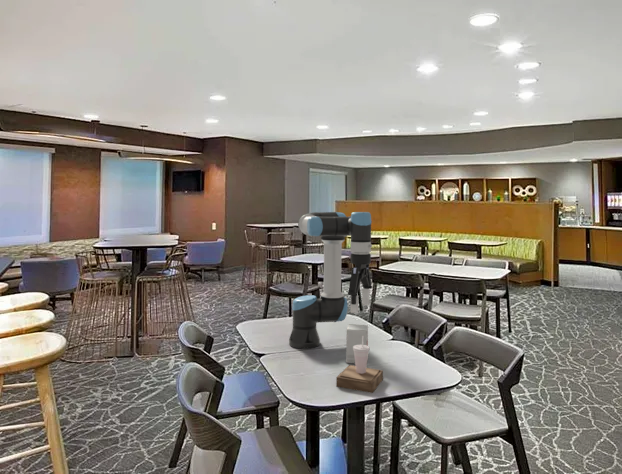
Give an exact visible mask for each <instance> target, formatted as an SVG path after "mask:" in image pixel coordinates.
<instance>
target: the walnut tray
mask: <svg viewBox="0 0 622 474" xmlns="http://www.w3.org/2000/svg"><path fill="white" fill-rule="evenodd" d="M383 379H384V370H383V369H377V368H370V367H366V373H363V374H360V373H357V372H356V365H353V364H349V365H348V366H347V367H345V368H344V369H343V370H342V371H341V372H340V373H339V374H338V375H337V376H336V379H335V380H336V382H335V384H336V388H337V387H338V388H343V389H348V390H354V391H359V392H363V393H369V394H374V392H375V391H376V389H377V388H378V387H379V385H380V384H381V383H382V381H383Z"/></svg>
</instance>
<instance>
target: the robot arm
mask: <svg viewBox="0 0 622 474" xmlns="http://www.w3.org/2000/svg"><path fill="white" fill-rule="evenodd" d="M350 214H351V215H350V216H346V214H345V213H344V212H338V211H331V212H330V211H326V212H325V211H313V212H310V213H305V214H303V215H302V216H300V218H299V220H298V221H297V222H298V223H297V227H298V229H299V231H300V232H301V234H304V235H306V236H309V237H310V236H311V237H320V240H321V242H322V243H323V291H322V292H321V293H320V296H319V298H317V296H316V295H310V294H309V295H308V294H307V295H302V296H298V297H296V298H294V299H293V302H292V309H291V310H292V329H291V333H290V336H289V339H288V345H289V346H290V347H292V348H296V349H313V348H316V347H319V346H321V345H320V344H321V338H320V336H319V332H318V330H317V329H318V328H317V323H337V322H338V323H339V322H343V321H344V320H345V319H346V317H347V314H348V309H349V305H348V299H347V297H345V294H344V293H343V292H342V248H343V247H342V244H343V242H345V240H346V239H345V238H346V237H349V236H350V263H351V264H352V265H354V267H352V268H351V275H350V281H349V287H348V292H347V296H350V312H349V313H351V314H359V295H358V293H359V289H360V284H362V289H361V290H362V291H361V292H362V293H361V306H366V307H367V306H368V307H369V306H370V289H373V288H372V287H373V286H372V281H371V280H372V279H371V273H370V264H371V261H372V254H371V252H372V249H371V248H372V247H373V244H372V222H373V221H372V214H371V212H369V211H354V212H351V213H350Z"/></svg>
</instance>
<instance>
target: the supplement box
mask: <svg viewBox="0 0 622 474" xmlns="http://www.w3.org/2000/svg"><path fill="white" fill-rule="evenodd" d="M362 336H364V338H363V345H367V346H369V325H368V324H357V323H356V324H353V323H352V324H347V328H346V344H345V345H346V347H345V349H346V350H345V352H346V353H345V356H346V357H345V362H346V364H355V356H354V350H353V346H355V345H362Z"/></svg>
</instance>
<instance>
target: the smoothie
mask: <svg viewBox="0 0 622 474" xmlns="http://www.w3.org/2000/svg"><path fill="white" fill-rule="evenodd" d="M363 338H364V336H362V345H355V346H353V350H354V356H355V363H354V364H355V365H354V366H356V372H357V373H360V374H363V373H366V368H368V367H367V366H368V358H369V352H370V346H369V345H368V346H367V345H363Z"/></svg>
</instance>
